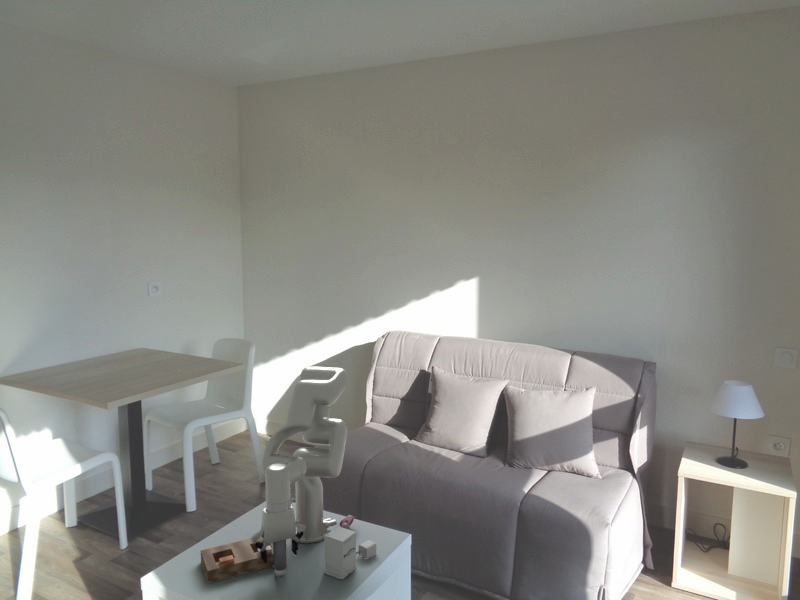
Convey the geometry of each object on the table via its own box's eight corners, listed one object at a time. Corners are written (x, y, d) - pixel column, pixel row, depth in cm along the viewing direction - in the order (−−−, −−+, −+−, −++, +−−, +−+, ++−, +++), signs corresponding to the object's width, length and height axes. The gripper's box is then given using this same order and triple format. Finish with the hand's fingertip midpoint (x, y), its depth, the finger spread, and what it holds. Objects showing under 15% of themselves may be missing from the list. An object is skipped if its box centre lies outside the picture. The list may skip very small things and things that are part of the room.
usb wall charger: (376, 554, 193) (376, 543, 193) (361, 563, 188) (361, 551, 188) (368, 550, 196) (367, 539, 195) (352, 558, 191) (352, 547, 190)
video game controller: (342, 544, 203) (351, 528, 201) (331, 537, 203) (339, 521, 202) (350, 530, 212) (358, 514, 211) (339, 523, 213) (347, 508, 212)
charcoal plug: (284, 568, 185) (283, 532, 184) (288, 574, 182) (287, 538, 181) (272, 571, 184) (271, 535, 182) (275, 578, 180) (274, 541, 179)
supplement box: (342, 580, 179) (342, 541, 177) (323, 573, 183) (323, 535, 181) (356, 569, 185) (356, 531, 183) (338, 562, 189) (337, 525, 187)
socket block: (273, 543, 200) (273, 528, 199) (285, 562, 189) (284, 546, 188) (201, 562, 189) (200, 546, 188) (208, 583, 177) (207, 566, 177)
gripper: (301, 493, 187) (302, 544, 189) (247, 505, 179) (248, 558, 181) (309, 503, 181) (310, 555, 183) (253, 515, 173) (254, 570, 175)
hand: (279, 556), depth 182 cm, fingers open, 9 cm apart
